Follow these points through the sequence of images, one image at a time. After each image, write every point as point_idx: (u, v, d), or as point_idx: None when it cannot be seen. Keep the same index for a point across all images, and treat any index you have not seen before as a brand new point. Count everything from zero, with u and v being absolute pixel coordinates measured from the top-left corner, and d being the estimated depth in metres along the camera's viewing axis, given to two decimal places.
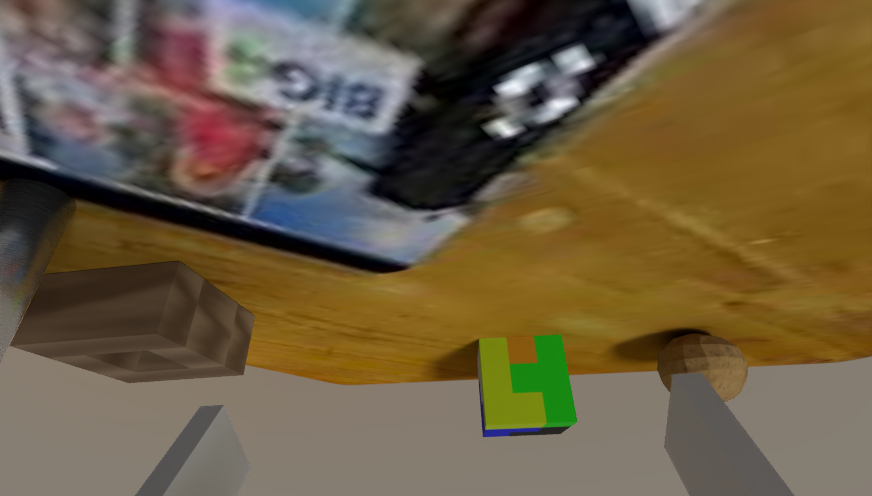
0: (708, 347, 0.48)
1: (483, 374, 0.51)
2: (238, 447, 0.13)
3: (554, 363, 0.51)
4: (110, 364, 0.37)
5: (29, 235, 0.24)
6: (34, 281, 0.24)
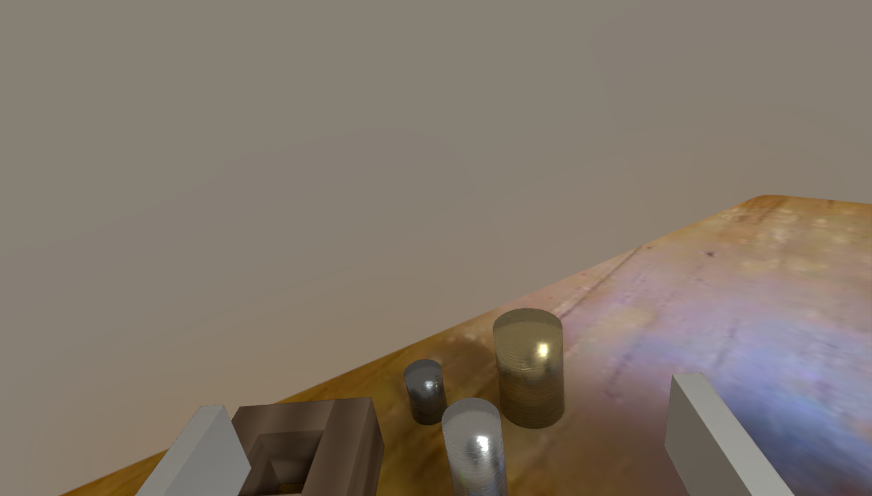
0: None
1: None
2: (238, 447, 0.13)
3: None
4: (291, 430, 0.35)
5: None
6: None
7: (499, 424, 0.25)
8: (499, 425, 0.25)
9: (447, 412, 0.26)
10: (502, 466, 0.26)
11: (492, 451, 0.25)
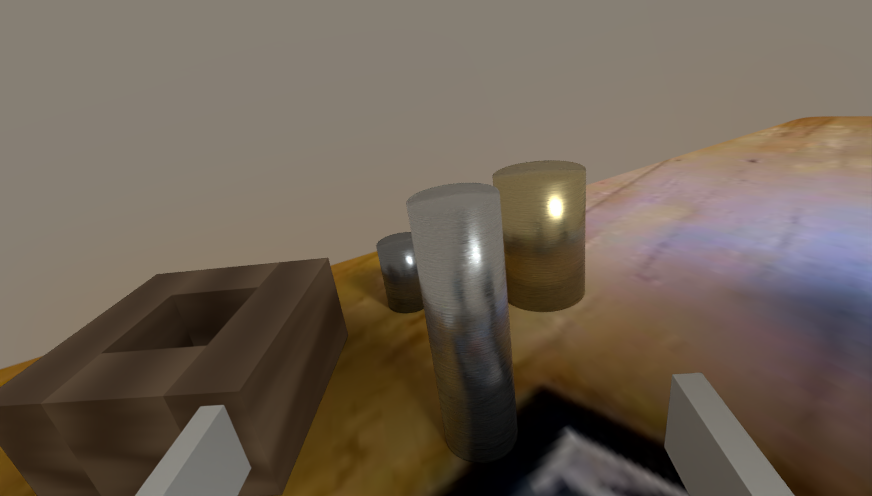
0: None
1: None
2: (238, 447, 0.13)
3: None
4: (214, 290, 0.26)
5: (490, 402, 0.18)
6: (450, 360, 0.17)
7: (498, 197, 0.16)
8: (498, 199, 0.16)
9: (417, 195, 0.17)
10: (502, 277, 0.17)
11: (485, 235, 0.15)
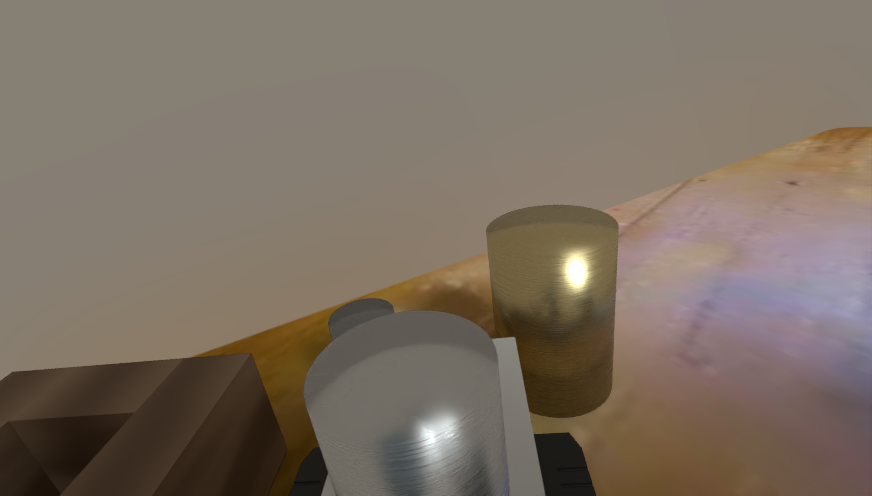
0: None
1: None
2: None
3: None
4: (72, 414, 0.17)
5: None
6: None
7: (494, 377, 0.07)
8: (494, 380, 0.07)
9: (335, 346, 0.09)
10: None
11: (467, 470, 0.07)
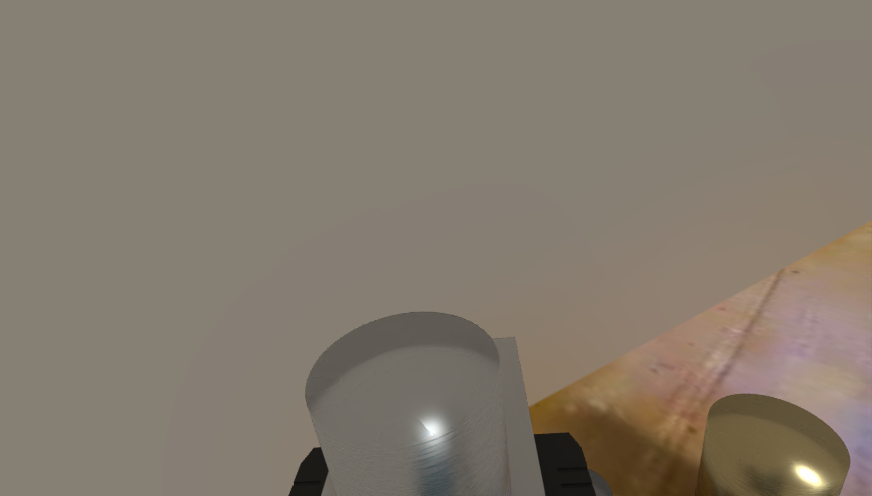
0: None
1: None
2: None
3: None
4: None
5: None
6: None
7: (496, 379, 0.07)
8: (496, 382, 0.07)
9: (337, 348, 0.09)
10: None
11: (470, 472, 0.07)
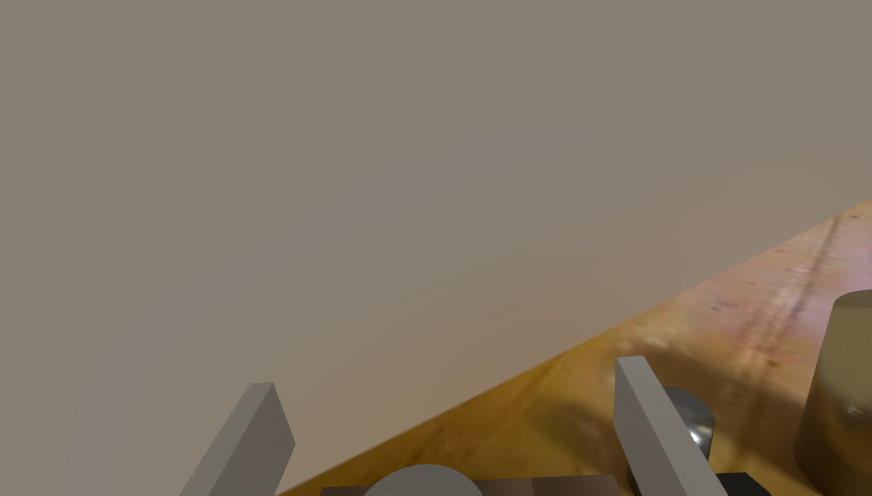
0: None
1: None
2: (284, 423, 0.14)
3: None
4: None
5: None
6: None
7: None
8: None
9: None
10: None
11: None
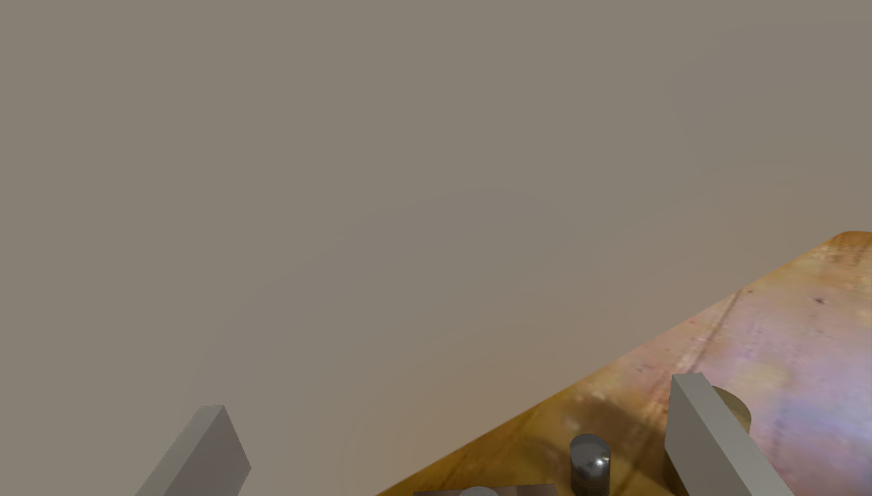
0: None
1: None
2: (238, 447, 0.13)
3: None
4: None
5: None
6: None
7: None
8: None
9: None
10: None
11: None
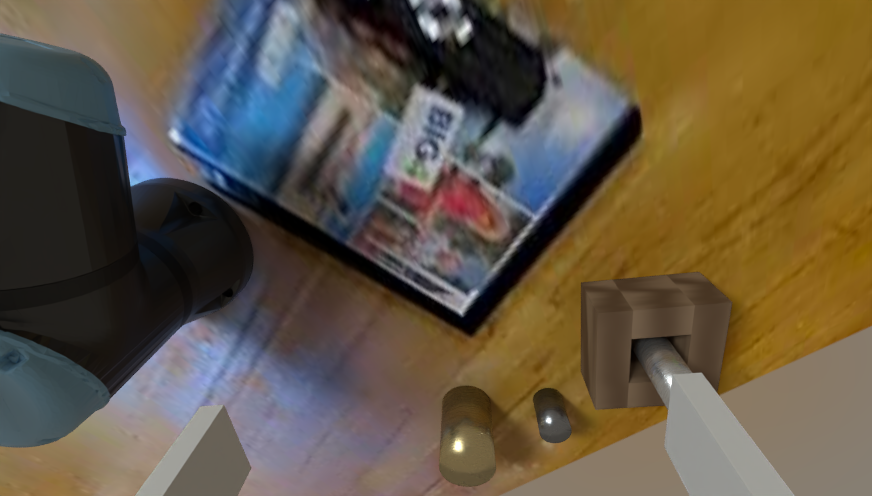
0: None
1: None
2: (238, 447, 0.13)
3: None
4: None
5: None
6: (667, 343, 0.42)
7: None
8: None
9: None
10: (655, 373, 0.40)
11: None
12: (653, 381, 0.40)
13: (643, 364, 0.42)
